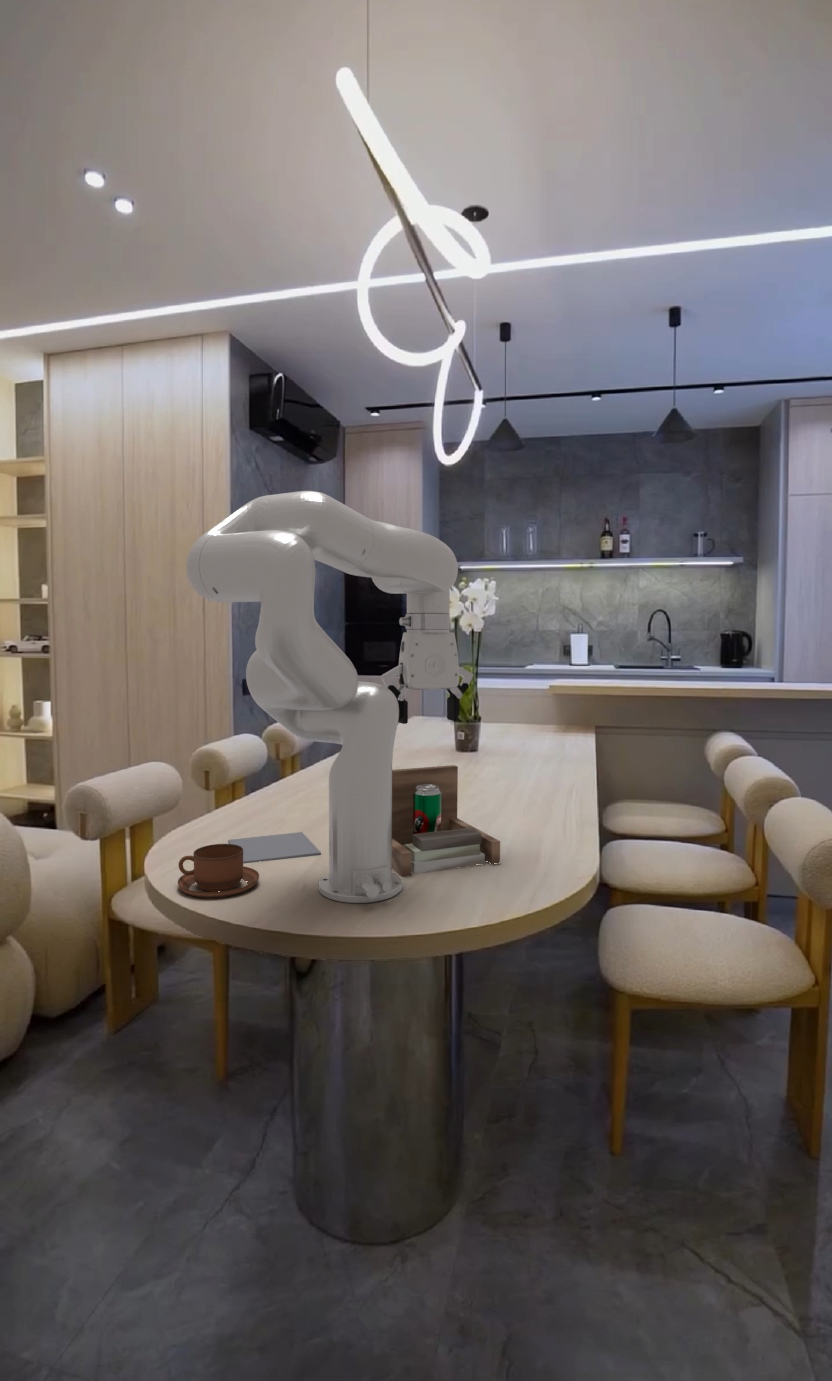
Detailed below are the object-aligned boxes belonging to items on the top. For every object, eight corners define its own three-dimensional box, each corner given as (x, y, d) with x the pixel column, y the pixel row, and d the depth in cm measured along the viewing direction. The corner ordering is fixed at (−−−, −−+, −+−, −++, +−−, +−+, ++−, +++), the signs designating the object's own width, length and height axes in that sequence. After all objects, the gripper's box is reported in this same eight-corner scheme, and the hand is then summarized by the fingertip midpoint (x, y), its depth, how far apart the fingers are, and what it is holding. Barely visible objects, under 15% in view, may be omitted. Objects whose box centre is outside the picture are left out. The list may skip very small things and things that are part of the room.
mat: (321, 855, 125) (321, 852, 125) (240, 865, 119) (240, 861, 119) (301, 834, 138) (301, 831, 138) (228, 842, 132) (228, 839, 132)
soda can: (441, 857, 124) (441, 790, 123) (412, 857, 124) (412, 789, 123) (440, 848, 129) (441, 784, 128) (413, 848, 129) (413, 783, 128)
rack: (499, 864, 121) (501, 783, 120) (402, 877, 114) (402, 792, 113) (453, 836, 137) (454, 765, 136) (365, 846, 130) (365, 771, 129)
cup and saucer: (177, 908, 101) (176, 866, 100) (178, 880, 112) (177, 842, 112) (262, 899, 105) (262, 859, 104) (255, 873, 116) (255, 836, 115)
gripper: (389, 624, 117) (389, 726, 118) (482, 624, 124) (481, 721, 125) (374, 624, 124) (374, 721, 125) (462, 624, 131) (462, 717, 132)
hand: (427, 721), depth 125 cm, fingers open, 9 cm apart
